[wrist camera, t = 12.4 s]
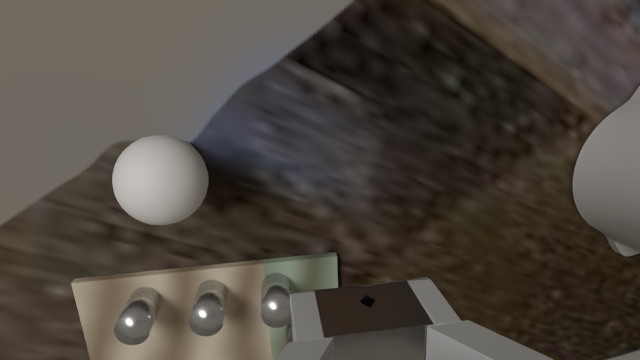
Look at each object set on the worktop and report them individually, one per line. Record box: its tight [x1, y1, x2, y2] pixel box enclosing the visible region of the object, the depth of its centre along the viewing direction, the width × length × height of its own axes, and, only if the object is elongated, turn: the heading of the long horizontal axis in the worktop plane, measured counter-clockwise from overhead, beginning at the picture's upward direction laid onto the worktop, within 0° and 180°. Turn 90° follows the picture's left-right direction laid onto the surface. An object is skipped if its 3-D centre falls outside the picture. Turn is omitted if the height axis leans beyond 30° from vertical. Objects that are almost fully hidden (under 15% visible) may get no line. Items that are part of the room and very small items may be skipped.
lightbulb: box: [112, 135, 209, 225], centre depth 31 cm, size 6×6×11 cm
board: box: [71, 252, 338, 360], centre depth 42 cm, size 24×16×1 cm, turn 92°
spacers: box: [114, 273, 291, 345], centre depth 39 cm, size 18×14×4 cm
